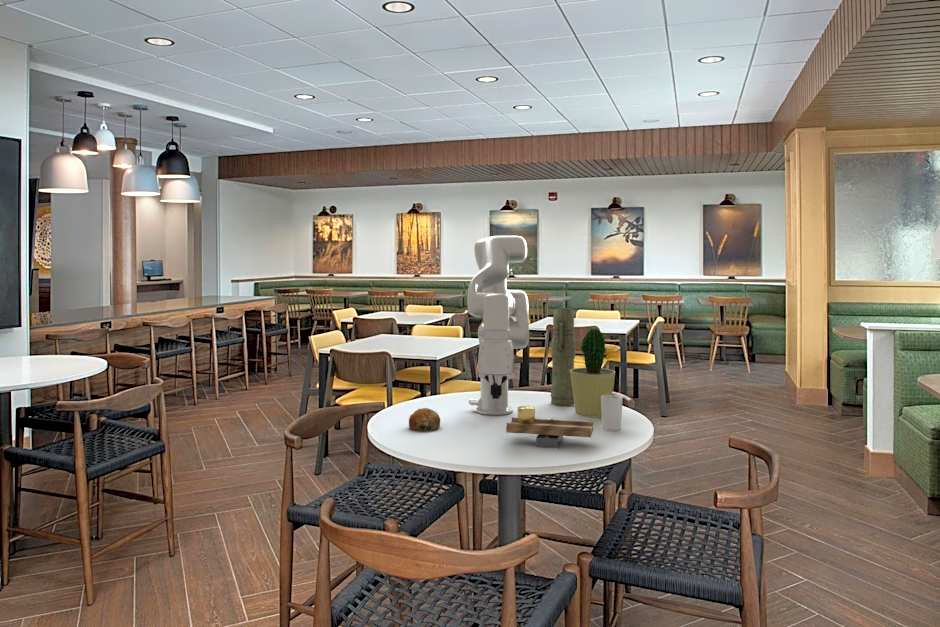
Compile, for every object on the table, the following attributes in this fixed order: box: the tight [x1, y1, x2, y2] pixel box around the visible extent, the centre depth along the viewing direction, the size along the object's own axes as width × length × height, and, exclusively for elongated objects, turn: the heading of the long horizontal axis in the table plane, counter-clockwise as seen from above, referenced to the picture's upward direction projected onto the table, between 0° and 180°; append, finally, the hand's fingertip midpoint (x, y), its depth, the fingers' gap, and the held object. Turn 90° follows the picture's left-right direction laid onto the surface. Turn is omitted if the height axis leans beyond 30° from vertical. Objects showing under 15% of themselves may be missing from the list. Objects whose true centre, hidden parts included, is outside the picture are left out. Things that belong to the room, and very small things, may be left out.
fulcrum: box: [535, 434, 564, 449], centre depth 206 cm, size 6×12×3 cm, turn 165°
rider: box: [517, 405, 536, 424], centre depth 207 cm, size 5×5×5 cm
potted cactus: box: [570, 327, 616, 418], centre depth 243 cm, size 15×15×30 cm
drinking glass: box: [601, 394, 624, 431], centre depth 222 cm, size 7×7×10 cm
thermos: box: [550, 307, 577, 406], centre depth 260 cm, size 9×12×35 cm
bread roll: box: [408, 407, 441, 432], centre depth 224 cm, size 10×10×8 cm
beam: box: [505, 416, 595, 438], centre depth 205 cm, size 24×9×3 cm, turn 75°
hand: (496, 398), depth 208 cm, fingers closed
